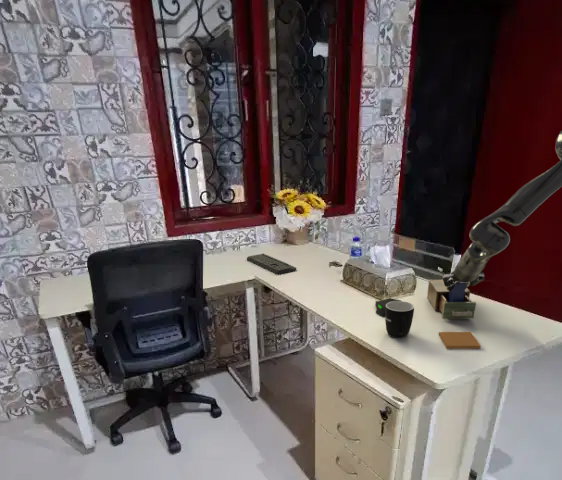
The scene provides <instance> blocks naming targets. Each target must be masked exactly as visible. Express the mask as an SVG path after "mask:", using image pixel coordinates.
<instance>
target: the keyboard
mask: <svg viewBox="0 0 562 480" xmlns="http://www.w3.org/2000/svg"><path fill="white" fill-rule="evenodd" d="M246 261H247V262H249V263H251V264H254V265H256V266H258V267H260V268H262V269H265V270H267V271H269V272H271V273H272V274H275V275H282V274H287V273H291V272H297V267H296V266H293V265H291V264H289V263H287V262H285V261H282V260H280V259H278V258H275V257H273V256H271V255H268V254H265V253H259V254H253V255H248V256H247V257H246Z"/></svg>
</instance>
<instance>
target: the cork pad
mask: <svg viewBox="0 0 562 480" xmlns="http://www.w3.org/2000/svg"><path fill="white" fill-rule="evenodd" d="M438 336H439V339H440V340H441V342H442V343H443V345H444V348H445V349H446V350H447V349H449V350H450V349H452V350H453V349H456V350H457V349H458V350H461V349H462V350H463V349H464V350H465V349H467V350H468V349H469V350H471V349H473V350H474V349H475V350H478V349H479V350H480V349H481V344H480V343H479V341H478V340H477V339H476V337H475V336H474V334H473V333H472V332H471V331H438Z"/></svg>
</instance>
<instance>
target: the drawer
mask: <svg viewBox="0 0 562 480" xmlns="http://www.w3.org/2000/svg"><path fill="white" fill-rule="evenodd" d="M448 296H449V294H439V298H438V308H439V309H440V311H439V312H441V314H442V315H441V318H442V319H443V320H448V319H450V320H453V319H455V320H456V319H459V320H460V319H461V320H462V319H464V320H465V319H475V314H476V313H475V311H476V307H477V302H476V301H472V299H471V298H470V296H469V297H468V296H467V295H466V294H465V293H464V299H463V302H448Z"/></svg>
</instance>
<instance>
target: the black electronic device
mask: <svg viewBox="0 0 562 480" xmlns="http://www.w3.org/2000/svg"><path fill="white" fill-rule="evenodd" d="M392 301H402V300H401V299H396V298H392V297H389V298H385V299H382V300H375V301H374V302H375V303H374V305H375V308H376V310H375V313H376V315H377V316H378V317H382V318H385V307H386V304H387V303H389V302H392Z"/></svg>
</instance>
